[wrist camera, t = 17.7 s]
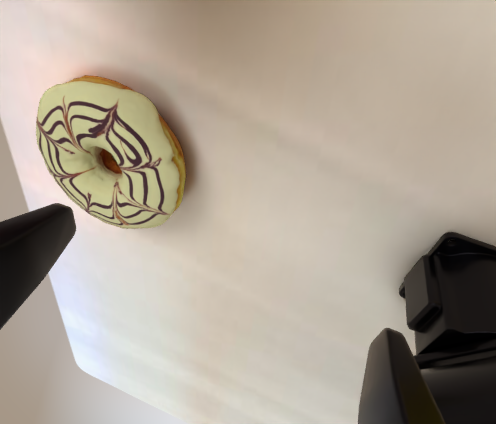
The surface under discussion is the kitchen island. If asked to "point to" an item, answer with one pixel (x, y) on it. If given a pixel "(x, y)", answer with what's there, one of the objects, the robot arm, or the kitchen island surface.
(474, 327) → the robot arm
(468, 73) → the kitchen island surface
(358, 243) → the kitchen island surface
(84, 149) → the decorated donut
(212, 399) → the kitchen island surface
